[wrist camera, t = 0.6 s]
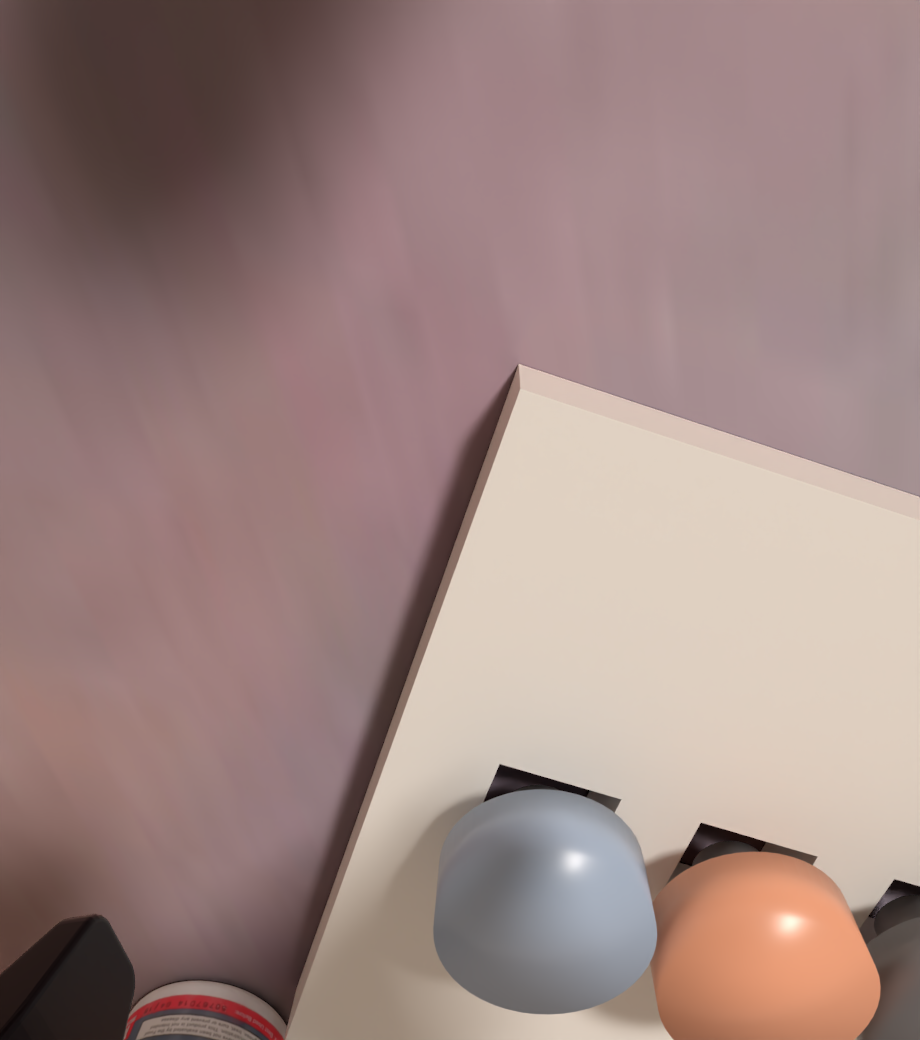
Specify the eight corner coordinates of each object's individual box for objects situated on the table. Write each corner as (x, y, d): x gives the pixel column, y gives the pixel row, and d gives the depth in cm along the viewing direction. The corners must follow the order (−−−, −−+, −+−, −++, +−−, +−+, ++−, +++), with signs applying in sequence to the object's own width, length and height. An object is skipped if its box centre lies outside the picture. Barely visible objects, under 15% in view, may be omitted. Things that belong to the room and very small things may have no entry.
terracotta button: (857, 826, 21) (922, 953, 18) (771, 955, 23) (817, 1092, 20) (679, 773, 21) (712, 893, 18) (606, 908, 23) (624, 1040, 19)
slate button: (663, 768, 21) (694, 888, 17) (591, 904, 23) (607, 1036, 19) (478, 713, 20) (473, 825, 17) (420, 856, 22) (406, 982, 19)
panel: (1264, 611, 20) (1340, 659, 18) (845, 1132, 28) (868, 1202, 26) (518, 363, 19) (520, 389, 17) (296, 988, 26) (281, 1051, 25)
